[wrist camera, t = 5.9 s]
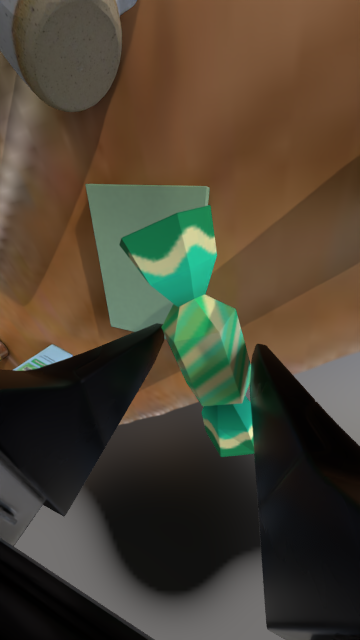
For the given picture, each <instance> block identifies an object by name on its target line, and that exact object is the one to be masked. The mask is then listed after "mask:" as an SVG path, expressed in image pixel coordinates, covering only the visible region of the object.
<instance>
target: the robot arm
mask: <svg viewBox="0 0 360 640" xmlns="http://www.w3.org/2000/svg"><path fill="white" fill-rule="evenodd" d="M162 325H163V324H159V323H156V324H153V325H151V326H148V327H146V328H144V329H141V330H139V331H136V332H134V333H131V334H129V335H126V336H124V337H122V338H119V339H117V340H114V341H112V342H109V343H107V344H104V345H102V347H101V346H99V347H97V348H95V349H92V350H89V351H87V352H84V353H82V354H79V355H76V356H73V357H70V358H67V359H64V360H61V361H58V362H55V363H52V364H49V365H46V366H43V367H40V368H37V369H32V370H23V371H15V370H0V640H154V639H153V638H151V637H150V636H148V635H147V634H145V633H144V632H142V631H141V630H139V629H137V628H136V627H134V626H133V625H132V624H130V623H129V622H127V621H126V620H124V619H122V618H121V617H119V616H118V615H116V614H115V613H113V612H112V611H110V610H109V609H107V608H106V607H104V606H103V605H101V604H100V603H98V602H97V601H95V600H94V599H92V598H91V597H89V596H88V595H86V594H85V593H83V592H82V591H80V590H79V589H77V588H76V587H74V586H73V585H71V584H70V583H68V582H67V581H65V580H63V579H62V578H60V577H59V576H57V575H56V574H54V573H53V572H51V571H50V570H48V569H47V568H45V567H44V566H42V565H41V564H39V563H38V562H36V561H35V560H33V559H32V558H30V557H29V556H27V555H26V554H24V553H23V552H21V551H20V550H18V549H16V548H15V547H14V545H15V544H16V542H17V541H18V540H19V538H20V537H21V535H22V534H23V532H24V531H25V530H26V528H27V527H28V525H29V524H30V522H31V521H32V520H33V518H34V517H35V515H36V513H37V512H38V511H39V510H40V508H41V507H42V505H44V506H46V507H48V508H50V509H52V510H53V511H55V512H57V513H59V514H61V515H62V516H65V515H66V513H67V512H68V510H69V509H70V507H71V505H72V503H73V502H74V500H75V498H76V496H77V495H78V493H79V492H80V490H81V488H82V486H83V485H84V483H85V481H86V479H87V478H88V476H89V474H90V473H91V471H92V469H93V468H94V466H95V464H96V462H97V461H98V459H99V457H100V456H101V454H102V452H103V450H104V449H105V446H106V445H107V443H108V441H109V440H110V438H111V436H112V435H113V433H114V431H115V430H116V428H117V426H118V424H119V423H120V421H121V419H122V418H123V416H124V414H125V412H126V411H127V409H128V407H129V406H130V404H131V402H132V400H133V399H134V397H135V395H136V394H137V392H138V390H139V388H140V387H141V385H142V383H143V382H144V380H145V378H146V376H147V375H148V373H149V371H150V370H151V368H152V366H153V364H154V362H155V360H156V358H157V355H158V353H159V351H160V348H161V346H162V344H163V341H164V332H163V330H162V328H161V327H162ZM250 400H251V414H252V428H253V442H254V455H255V469H256V484H257V498H258V508H259V510H258V512H259V527H260V540H261V541H260V542H261V555H262V568H263V583H264V597H265V612H266V624H267V629H268V630H269V631H271V632H273V633H275V634H276V635H278V636H280V637H282V638H284V639H285V640H360V446H359V445H358V444H357V443H356V442H355V441H354V440H353V439H352V438H351V437H350V436H349V435H348V434H347V433H346V432H345V431H344V430H343V429H342V428H341V427H340V426H339V425H338V424H337V423H336V422H335V421H334V420H333V419H332V418H331V417H330V416H329V415H328V414H327V413H326V412H325V410H324V409H323V408H322V407H321V406H320V405H319V404H318V403H317V402H315V399H314V398H313V397H312V396H311V395H310V394H309V393H308V392H307V391H306V389H305V388H304V387H303V386H302V385H301V384H300V383H299V382H298V381H297V379H296V378H295V377H294V376H293V375H292V374H291V373H290V372H289V370H288V369H287V368H286V367H285V366H284V365H283V364H282V363H281V362H280V360H279V359H278V358H277V357H276V356H275V355H274V354H273V353H272V351H271V350H270V349H269V348H268V347H267V346H266V345H262V344H257V345H256V346H255V350H254V353H253V356H252V361H251V376H250Z"/></svg>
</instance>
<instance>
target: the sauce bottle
mask: <svg viewBox="0 0 360 640" xmlns="http://www.w3.org/2000/svg"><path fill="white" fill-rule="evenodd" d="M8 354H9V353H8V349H7V348H6V346H5V345H4V344H3V343H2V342H1V341H0V361H1V360H2V359H3V358H5V357H6V356H8Z"/></svg>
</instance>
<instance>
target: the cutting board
mask: <svg viewBox="0 0 360 640" xmlns="http://www.w3.org/2000/svg"><path fill="white" fill-rule="evenodd" d="M86 190H87V195H88V201H89V207H90V212H91V218H92V223H93V229H94V234H95V240H96V245H97V251H98V256H99V262H100V267H101V273H102V278H103V284H104V290H105V295H106V301H107V306H108V312H109V317H110V323H111V326H112V327H116V328H120V329H125V330H129V331H133V332H136V331H139V330H141V329H144V328H146V327H148V326H151V325H153V324H156V323H159V324H163V323H164V321H165V319H166V317H167V315H168V313H169V311H170V310H171V308H172V306H173V303H172V302H171V301H169V300H168V299H167V298H166V297H164V296H163V295H162V294H161V293H159V292H158V291H157V290H156V289H154V288H153V287H152V286H151V285H149V283H148V282H147V281H146V279H145V278H144V277H143V275H142V274H141V273H140V271H139V270H138V269H137V268H136V266H135V265H134V264H133V262H132V261H131V260H130V258H129V257H128V256H127V255H126V253H125V252H124V251H123V249H122V248H121V247H120V245H119V244H120V241H121V238H122V237H124V236H126V235H129V234H131V233H133V232H135V231H138V230H140V229H142V228H144V227H146V226H149V225H151V224H153V223H155V222H157V221H160V220H162V219H164V218H166V217H169V216H171V215H173V214H175V213H178V212H182V211H186V210H191V209H195V208H199V207H204V206H208V199H209V190H210V188H209V187H207V186H169V185H118V184H86ZM164 339H166V337H165V334H164Z"/></svg>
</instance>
